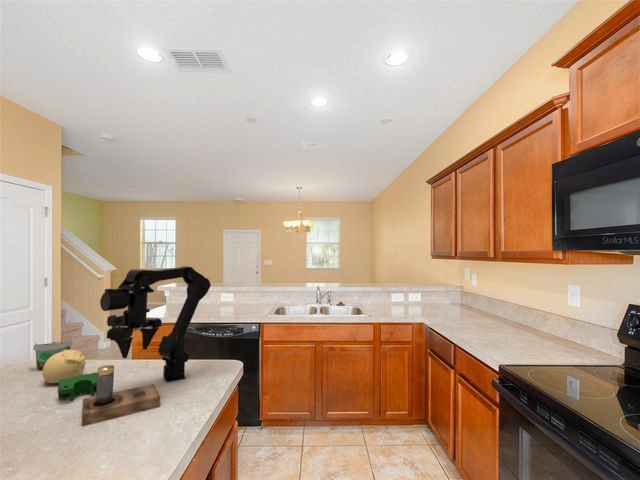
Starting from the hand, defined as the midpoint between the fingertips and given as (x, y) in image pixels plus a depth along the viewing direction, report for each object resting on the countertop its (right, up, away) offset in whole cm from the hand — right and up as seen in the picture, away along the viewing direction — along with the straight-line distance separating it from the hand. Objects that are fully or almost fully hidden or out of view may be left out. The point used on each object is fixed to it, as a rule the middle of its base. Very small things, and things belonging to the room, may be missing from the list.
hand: (135, 353), depth 104 cm
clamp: (-16, -13, -3) cm, 21 cm away
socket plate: (+2, -13, -10) cm, 16 cm away
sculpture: (-31, -13, +8) cm, 34 cm away
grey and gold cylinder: (-1, -12, -13) cm, 18 cm away
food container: (-45, -13, +19) cm, 50 cm away
